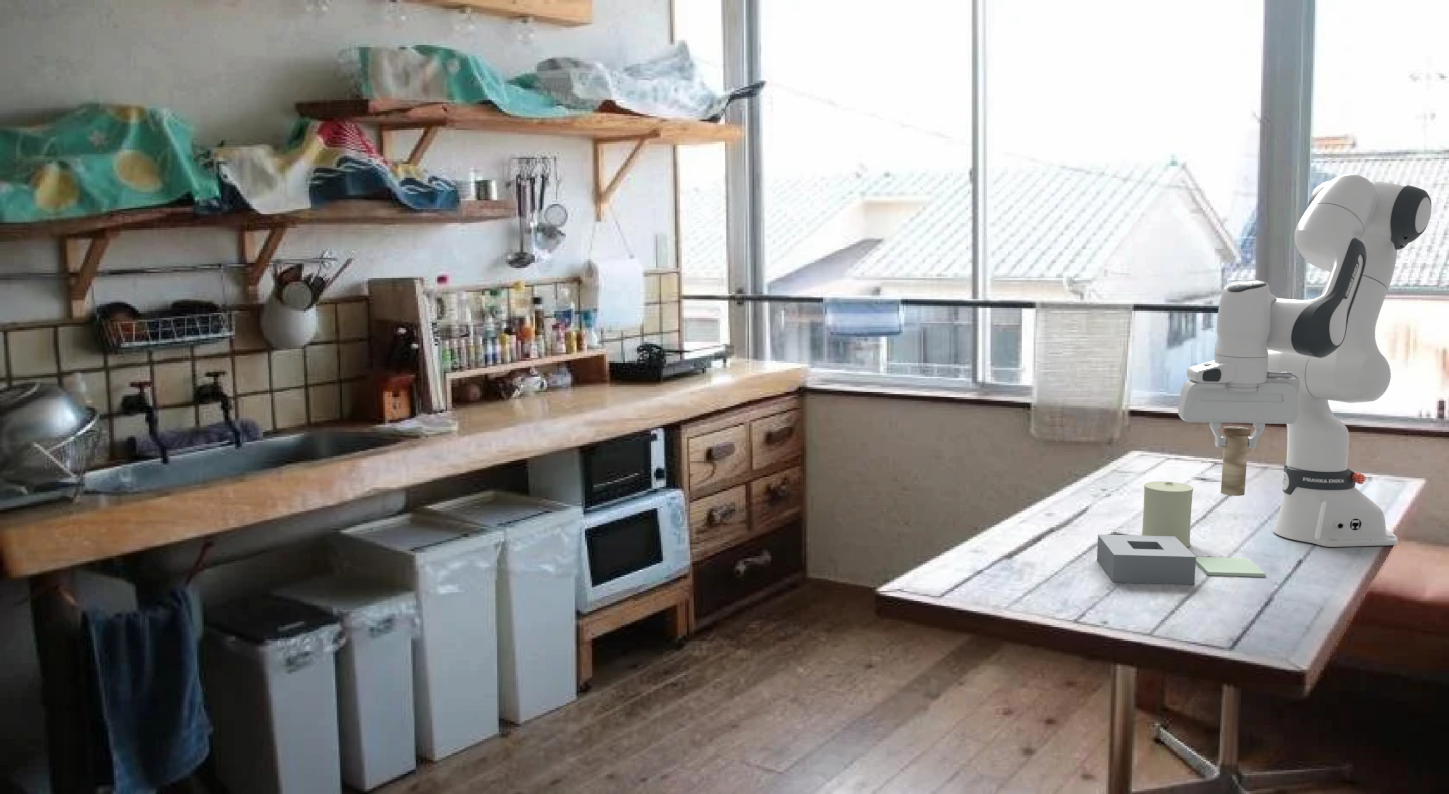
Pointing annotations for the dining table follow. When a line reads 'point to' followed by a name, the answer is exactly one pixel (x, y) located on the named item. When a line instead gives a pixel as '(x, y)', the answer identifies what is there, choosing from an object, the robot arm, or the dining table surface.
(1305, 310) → the robot arm
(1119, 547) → the socket
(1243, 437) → the plug
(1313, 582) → the dining table surface
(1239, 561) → the mat
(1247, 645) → the dining table surface
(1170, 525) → the can
